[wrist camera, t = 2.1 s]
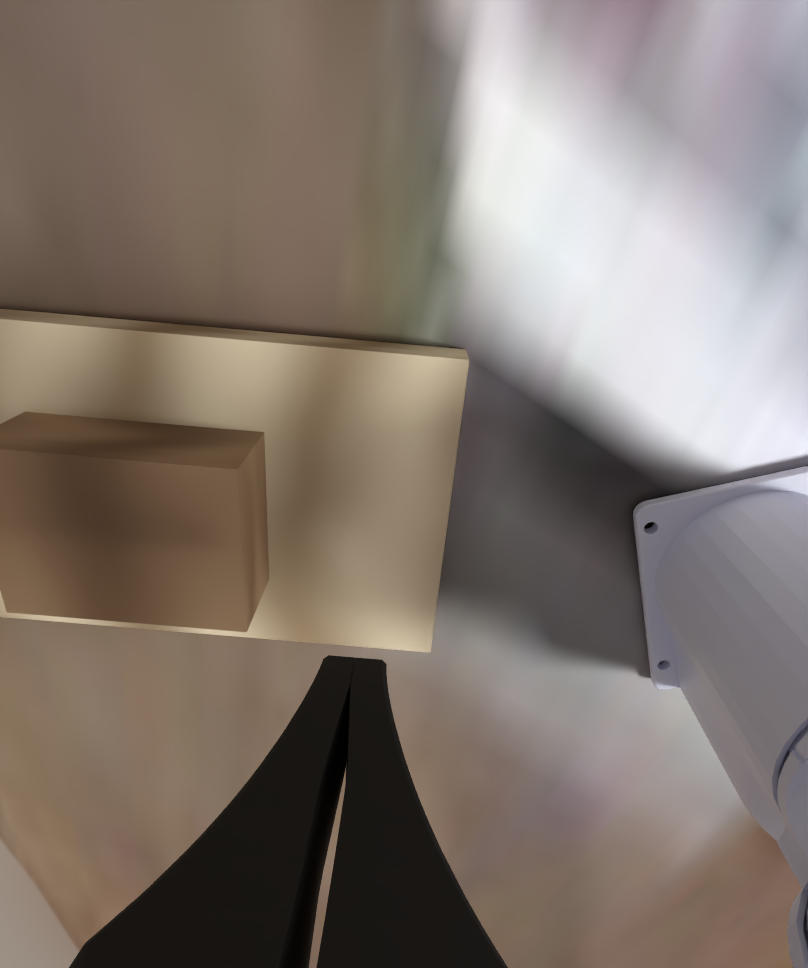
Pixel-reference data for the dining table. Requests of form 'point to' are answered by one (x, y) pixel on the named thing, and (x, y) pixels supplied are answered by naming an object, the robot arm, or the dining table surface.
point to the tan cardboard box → (132, 521)
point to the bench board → (282, 453)
